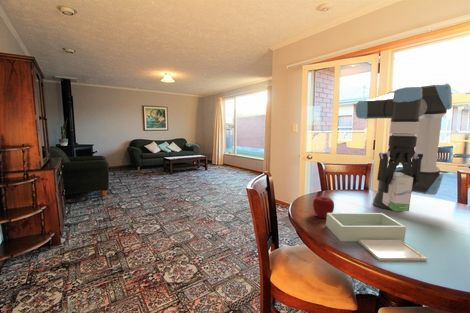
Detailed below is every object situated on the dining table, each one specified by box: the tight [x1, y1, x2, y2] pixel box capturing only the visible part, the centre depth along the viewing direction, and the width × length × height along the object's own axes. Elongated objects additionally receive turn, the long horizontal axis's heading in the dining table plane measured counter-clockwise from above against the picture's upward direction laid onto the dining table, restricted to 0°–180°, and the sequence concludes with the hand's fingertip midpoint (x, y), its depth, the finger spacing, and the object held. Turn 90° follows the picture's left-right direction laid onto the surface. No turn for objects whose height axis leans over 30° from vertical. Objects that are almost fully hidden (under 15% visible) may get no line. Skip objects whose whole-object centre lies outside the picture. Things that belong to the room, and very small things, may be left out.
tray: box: [358, 240, 428, 262], centre depth 82 cm, size 16×12×1 cm
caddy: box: [325, 212, 407, 242], centre depth 95 cm, size 25×14×6 cm, turn 91°
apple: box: [312, 196, 335, 219], centre depth 112 cm, size 10×10×10 cm
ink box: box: [382, 172, 413, 212], centre depth 79 cm, size 9×5×12 cm, turn 169°
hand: (395, 201), depth 79 cm, fingers closed on ink box, 6 cm apart
